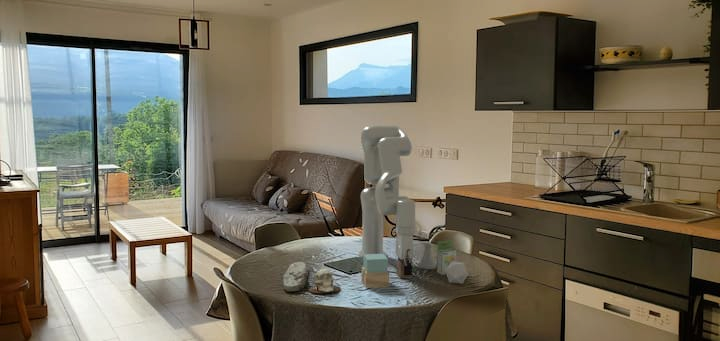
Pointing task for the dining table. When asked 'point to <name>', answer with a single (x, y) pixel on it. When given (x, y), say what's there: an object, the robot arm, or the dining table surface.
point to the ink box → (445, 256)
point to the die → (456, 272)
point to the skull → (324, 282)
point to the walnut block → (402, 269)
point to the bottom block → (375, 279)
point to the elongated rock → (295, 277)
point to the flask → (427, 258)
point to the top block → (375, 263)
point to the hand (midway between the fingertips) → (404, 271)
